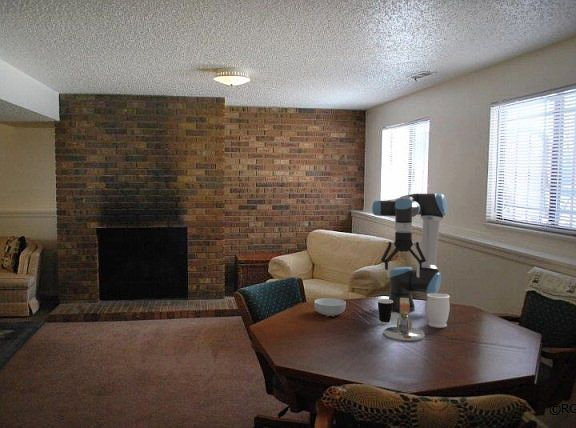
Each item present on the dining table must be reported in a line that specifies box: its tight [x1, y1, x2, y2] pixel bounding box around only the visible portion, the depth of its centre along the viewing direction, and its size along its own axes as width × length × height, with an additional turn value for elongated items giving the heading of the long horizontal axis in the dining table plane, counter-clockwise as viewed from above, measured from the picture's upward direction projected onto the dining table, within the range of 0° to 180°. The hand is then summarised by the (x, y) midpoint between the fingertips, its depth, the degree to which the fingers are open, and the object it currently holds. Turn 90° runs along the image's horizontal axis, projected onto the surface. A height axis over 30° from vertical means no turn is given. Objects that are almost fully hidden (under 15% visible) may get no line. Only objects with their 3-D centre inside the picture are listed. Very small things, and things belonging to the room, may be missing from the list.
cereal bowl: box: [313, 297, 347, 317], centre depth 255 cm, size 17×17×7 cm
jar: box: [426, 292, 451, 329], centre depth 235 cm, size 11×10×15 cm
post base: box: [383, 316, 425, 343], centre depth 220 cm, size 18×18×8 cm
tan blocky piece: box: [396, 298, 413, 329], centre depth 219 cm, size 7×13×13 cm, turn 167°
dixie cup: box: [376, 298, 393, 325], centre depth 240 cm, size 8×8×11 cm
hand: (403, 276), depth 225 cm, fingers open, 13 cm apart
